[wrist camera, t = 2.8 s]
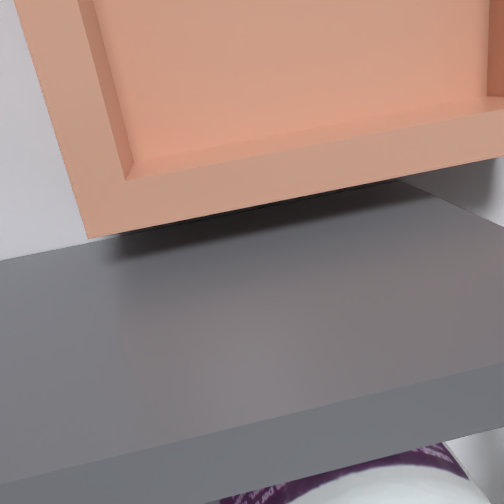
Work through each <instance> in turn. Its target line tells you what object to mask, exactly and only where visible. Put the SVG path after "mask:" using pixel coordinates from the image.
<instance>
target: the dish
mask: <svg viewBox="0 0 504 504" xmlns="http://www.w3.org/2000/svg"><path fill="white" fill-rule="evenodd" d="M14 3H15V6H16V10H17V13H18V16H19V19H20V22H21V26H22V29H23V32H24V35H25V38H26V42H27V45H28V48H29V51H30V54H31V58H32V61H33V64H34V67H35V70H36V74H37V77H38V80H39V83H40V87H41V90H42V93H43V96H44V99H45V103H46V106H47V109H48V112H49V115H50V119H51V122H52V125H53V128H54V131H55V135H56V138H57V141H58V144H59V147H60V151H61V154H62V157H63V160H64V163H65V167H66V170H67V173H68V176H69V179H70V183H71V186H72V189H73V192H74V195H75V199H76V202H77V205H78V208H79V211H80V215H81V218H82V221H83V224H84V227H85V231H86V234H87V237H88V239H91V238H96V237H101V236H106V235H111V234H116V233H121V232H126V231H131V230H136V229H141V228H146V227H151V226H156V225H161V224H166V223H171V222H176V221H181V220H186V219H191V218H196V217H201V216H206V215H211V214H216V213H221V212H226V211H231V210H236V209H241V208H246V207H251V206H256V205H261V204H266V203H271V202H276V201H281V200H286V199H291V198H296V197H301V196H306V195H311V194H316V193H321V192H326V191H331V190H336V189H341V188H346V187H351V186H356V185H361V184H366V183H371V182H376V181H381V180H386V179H391V178H396V177H401V176H406V175H411V174H416V173H421V172H426V171H431V170H436V169H441V168H446V167H452V166H457V165H462V164H467V163H472V162H477V161H482V160H487V159H492V158H497V157H502V156H504V0H14Z"/></svg>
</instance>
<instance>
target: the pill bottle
mask: <svg viewBox="0 0 504 504" xmlns="http://www.w3.org/2000/svg"><path fill="white" fill-rule="evenodd" d="M219 503H220V504H491V503H490V501H489V500H488V498H487V497H486V496H485V494H484V493H483V492H482V490H481V489H480V488H479V486H478V485H477V484H476V482H475V481H474V480H473V478H472V477H471V476H470V474H469V473H468V472H467V470H466V469H465V468H464V466H463V465H462V464H461V462H460V461H459V460H458V458H457V457H456V456H455V454H454V453H453V452H452V450H451V449H450V448H449V446H448V445H447V444H446V442H441V443H437V444H433V445H429V446H426V447H422V448H418V449H414V450H410V451H406V452H402V453H398V454H394V455H390V456H387V457H383V458H379V459H375V460H371V461H367V462H363V463H359V464H355V465H351V466H348V467H344V468H340V469H336V470H332V471H328V472H324V473H320V474H316V475H313V476H309V477H305V478H301V479H297V480H293V481H289V482H285V483H281V484H277V485H274V486H270V487H266V488H262V489H258V490H254V491H250V492H246V493H242V494H238V495H235V496H231V497H227V498H223V499H219Z"/></svg>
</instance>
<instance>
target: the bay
mask: <svg viewBox="0 0 504 504" xmlns="http://www.w3.org/2000/svg"><path fill="white" fill-rule="evenodd" d="M500 427H504V227H502V226H500V225H498V224H495V223H493V222H491V221H489V220H487V219H484V218H482V217H480V216H478V215H476V214H473V213H471V212H469V211H467V210H465V209H462V208H460V207H458V206H456V205H454V204H451V203H449V202H447V201H445V200H443V199H440V198H438V197H436V196H434V195H432V194H429V193H427V192H425V191H423V190H421V189H418V188H416V187H414V186H412V185H410V184H407V183H405V182H403V181H396V182H391V183H386V184H381V185H376V186H371V187H366V188H361V189H356V190H351V191H346V192H341V193H336V194H331V195H326V196H321V197H316V198H311V199H306V200H301V201H296V202H291V203H286V204H281V205H276V206H272V207H267V208H262V209H257V210H252V211H247V212H242V213H237V214H232V215H227V216H222V217H217V218H212V219H207V220H202V221H197V222H192V223H187V224H182V225H177V226H172V227H167V228H162V229H157V230H152V231H147V232H142V233H137V234H132V235H127V236H122V237H117V238H112V239H107V240H102V241H97V242H92V243H87V244H82V245H77V246H72V247H67V248H62V249H57V250H52V251H47V252H42V253H37V254H32V255H27V256H22V257H17V258H12V259H7V260H2V261H0V504H220V503H219V499H223V498H227V497H231V496H235V495H238V494H242V493H246V492H250V491H254V490H258V489H262V488H266V487H270V486H274V485H277V484H281V483H285V482H289V481H293V480H297V479H301V478H305V477H309V476H313V475H316V474H320V473H324V472H328V471H332V470H336V469H340V468H344V467H348V466H351V465H355V464H359V463H363V462H367V461H371V460H375V459H379V458H383V457H387V456H390V455H394V454H398V453H402V452H406V451H410V450H414V449H418V448H422V447H426V446H429V445H433V444H437V443H441V442H445V441H449V440H453V439H457V438H461V437H465V436H468V435H472V434H476V433H480V432H484V431H488V430H492V429H496V428H500Z"/></svg>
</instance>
